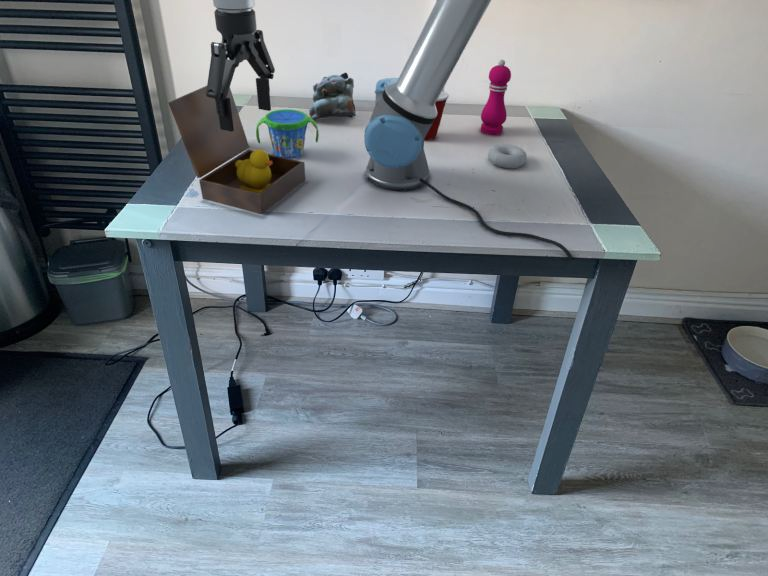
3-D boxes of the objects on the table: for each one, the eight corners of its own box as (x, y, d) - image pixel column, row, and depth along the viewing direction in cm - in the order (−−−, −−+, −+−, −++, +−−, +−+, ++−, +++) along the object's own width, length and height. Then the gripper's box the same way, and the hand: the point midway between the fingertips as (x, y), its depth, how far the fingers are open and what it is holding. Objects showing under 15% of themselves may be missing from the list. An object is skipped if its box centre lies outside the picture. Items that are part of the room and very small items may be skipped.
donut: (530, 160, 147) (494, 151, 150) (533, 148, 145) (497, 138, 148) (518, 174, 140) (481, 164, 143) (520, 161, 138) (483, 151, 141)
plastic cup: (435, 127, 162) (439, 85, 155) (450, 141, 154) (455, 98, 147) (400, 130, 160) (403, 88, 152) (414, 145, 151) (417, 101, 144)
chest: (305, 182, 132) (304, 161, 129) (262, 217, 119) (259, 195, 115) (250, 169, 137) (248, 149, 134) (203, 201, 123) (199, 179, 120)
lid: (226, 77, 125) (209, 80, 127) (170, 101, 111) (152, 104, 114) (249, 147, 133) (233, 148, 135) (200, 177, 120) (182, 178, 122)
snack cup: (320, 146, 149) (318, 109, 143) (318, 163, 141) (316, 124, 134) (261, 146, 148) (257, 108, 142) (255, 163, 140) (251, 123, 134)
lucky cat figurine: (300, 120, 164) (298, 71, 162) (324, 125, 174) (323, 78, 172) (342, 115, 156) (340, 63, 154) (365, 120, 166) (364, 72, 164)
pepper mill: (509, 133, 161) (521, 61, 149) (490, 138, 158) (501, 64, 146) (491, 125, 166) (502, 54, 154) (473, 129, 162) (483, 58, 150)
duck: (231, 190, 126) (225, 149, 121) (246, 179, 131) (241, 139, 125) (266, 198, 124) (262, 157, 118) (280, 187, 128) (277, 147, 122)
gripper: (255, -4, 115) (264, 99, 128) (173, 18, 97) (193, 135, 109) (286, 0, 113) (293, 104, 126) (208, 23, 94) (225, 143, 107)
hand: (246, 119), depth 118 cm, fingers open, 13 cm apart
